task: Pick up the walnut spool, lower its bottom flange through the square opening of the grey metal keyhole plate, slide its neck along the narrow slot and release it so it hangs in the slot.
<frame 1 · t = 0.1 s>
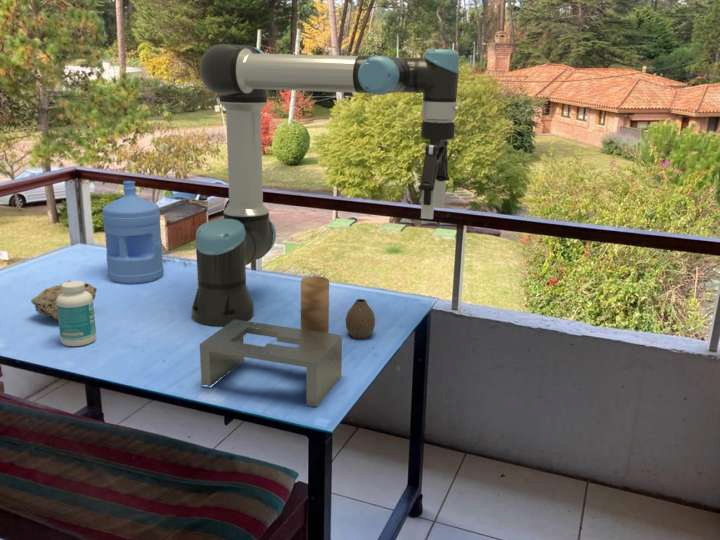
hand: (433, 213, 157), 28 cm above the table, tool pointing down, fingers open, 13 cm apart
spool: (314, 354, 146), on the table
water jug: (136, 277, 196), on the table
pill bottle: (79, 341, 150), on the table
pumice stone: (68, 316, 164), on the table
vase: (359, 336, 157), on the table
keyhole plate: (273, 381, 133), on the table
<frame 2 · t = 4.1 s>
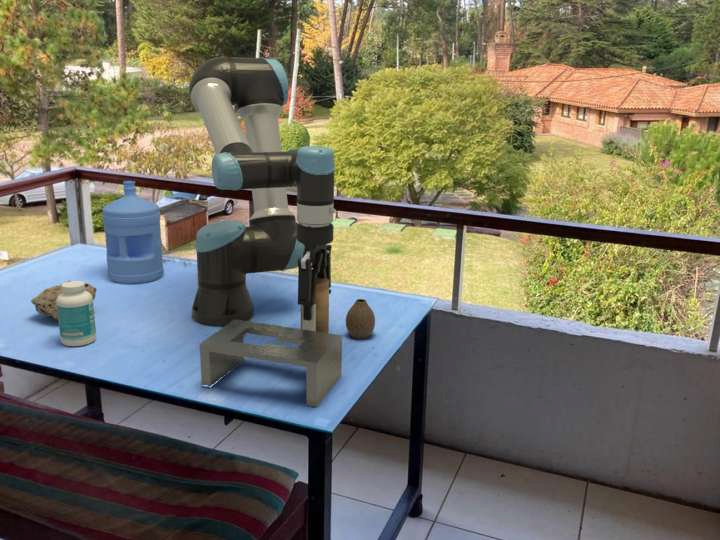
hand: (314, 327, 144), 6 cm above the table, tool pointing down, fingers closed on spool, 6 cm apart
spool: (314, 354, 146), on the table, touching gripper
everything else where it was.
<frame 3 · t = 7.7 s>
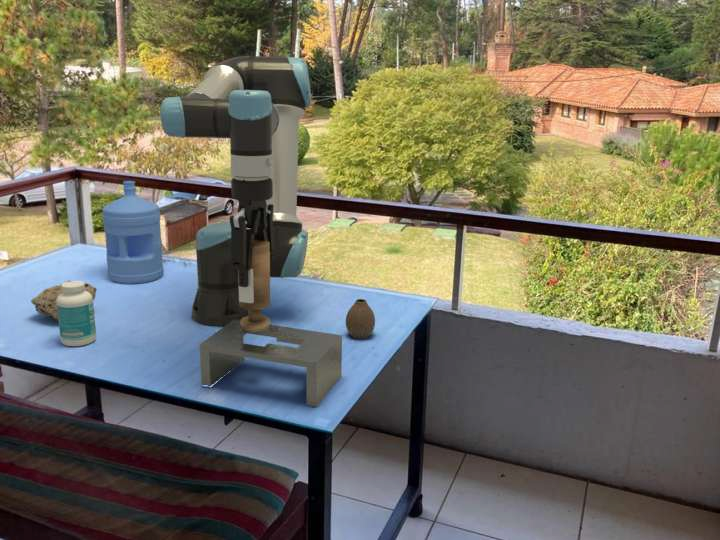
hand: (254, 296, 129), 18 cm above the table, tool pointing down, fingers closed on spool, 6 cm apart
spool: (255, 327, 131), point 11 cm above the table, touching gripper
everything else where it was.
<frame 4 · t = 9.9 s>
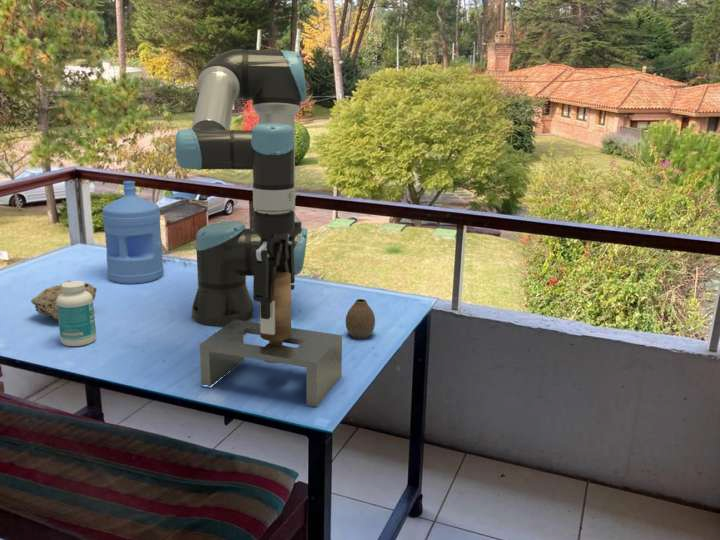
hand: (275, 326, 129), 12 cm above the table, tool pointing down, fingers closed on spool, 6 cm apart
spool: (276, 357, 131), point 5 cm above the table, touching gripper
everything else where it was.
when the fingers open (12 cm above the table, at t = 11.5 s): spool stays where it is, resting on keyhole plate.
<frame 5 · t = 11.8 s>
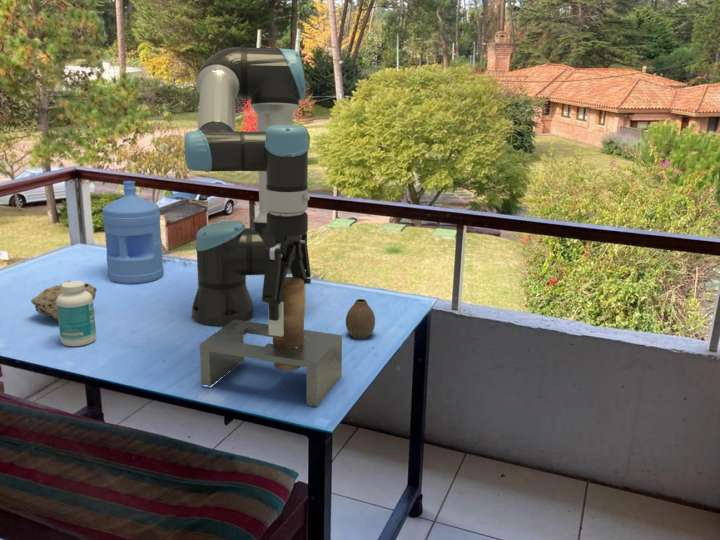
hand: (287, 324, 128), 13 cm above the table, tool pointing down, fingers open, 10 cm apart
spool: (288, 364, 131), point 4 cm above the table, touching keyhole plate
everything else where it was.
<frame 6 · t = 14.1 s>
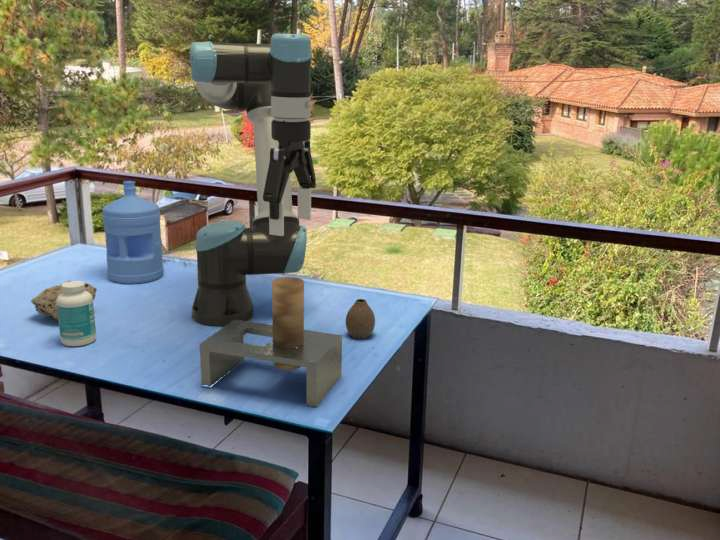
hand: (291, 226, 134), 29 cm above the table, tool pointing down, fingers open, 13 cm apart
nothing on the table moved.
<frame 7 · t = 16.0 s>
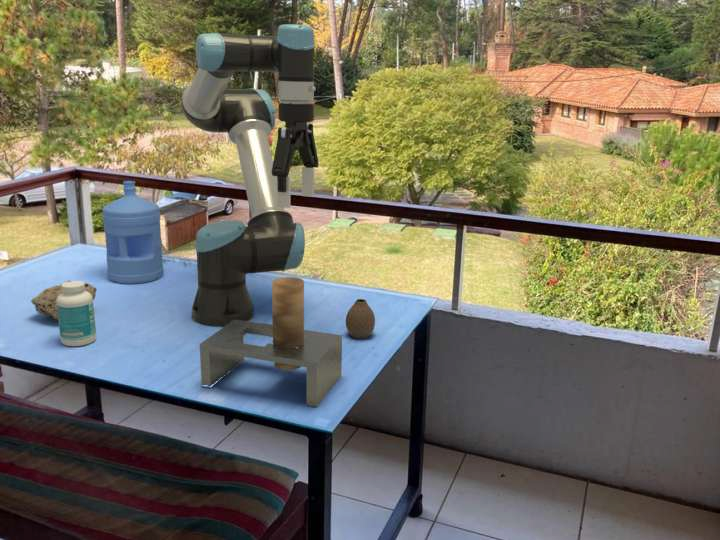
hand: (296, 201, 147), 32 cm above the table, tool pointing down, fingers open, 13 cm apart
nothing on the table moved.
at the end: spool 0.5 cm from the target spot on the keyhole plate, point 4.3 cm above the keyhole plate's base; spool tilted 0°; the gripper is holding nothing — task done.
